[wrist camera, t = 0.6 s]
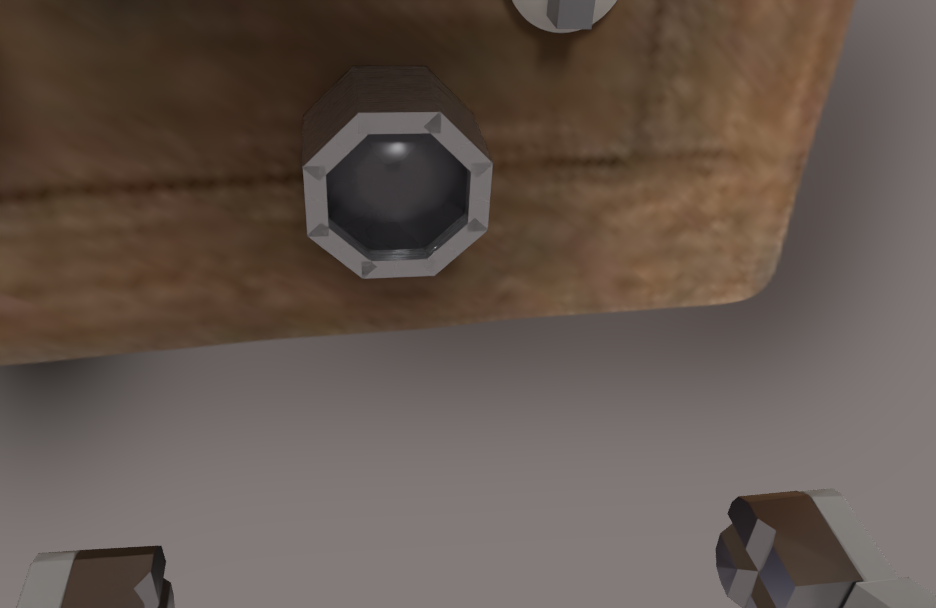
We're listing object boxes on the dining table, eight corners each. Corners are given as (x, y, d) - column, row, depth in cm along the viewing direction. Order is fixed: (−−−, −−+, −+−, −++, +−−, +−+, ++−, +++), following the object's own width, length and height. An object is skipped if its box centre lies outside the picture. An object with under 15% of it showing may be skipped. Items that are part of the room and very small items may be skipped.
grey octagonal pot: (299, 65, 48) (298, 112, 43) (476, 65, 50) (497, 110, 44) (309, 221, 54) (309, 281, 49) (467, 217, 56) (484, 274, 50)
